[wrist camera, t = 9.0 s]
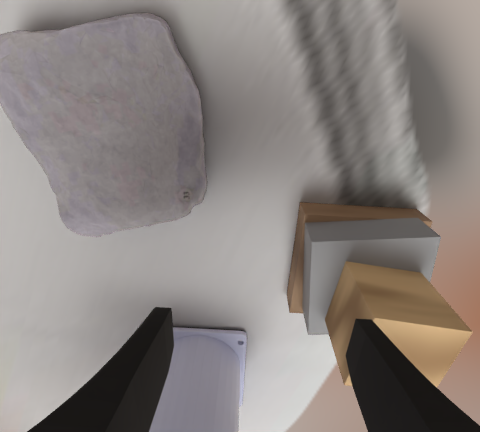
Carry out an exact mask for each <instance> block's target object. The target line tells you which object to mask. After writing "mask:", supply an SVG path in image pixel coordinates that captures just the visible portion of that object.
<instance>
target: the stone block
mask: <svg viewBox="0 0 480 432" xmlns="http://www.w3.org/2000/svg"><path fill="white" fill-rule="evenodd" d="M0 104H1V106H2V108H3V110H4V112H5V113H6V115H7V116H8V118H9V120H10V121H11V123H12V125H13V128H14V129H15V130H16V132H17V133H18V135H19V136H20V138H21V140H22V141H23V143H24V144H25V145H26V147H27V148H28V149H29V151H30V152H31V153H32V154H33V155H34V157H35V158H36V159H37V161H38V162H39V164H40V165H41V167H42V168H43V170H44V171H45V173H46V175H47V177H48V179H49V182H50V186H51V188H52V190H53V191H54V193H55V194H56V197H57V202H58V207H59V214H60V217H61V219H62V221H63V223H64V224H65V226H66V227H67V228H68V229H70V230H72V231H74V232H76V233H77V234H80V235H84V236H93V237H101V236H102V235H104V234H111V233H113V232H115V231H121V230H126V229H132V228H137V227H143V226H151V225H154V224H158V223H163V222H168V221H173V220H177V219H179V218H182V217H184V216H186V215H188V214H189V213H190V212H191V210H192V208H193V207H194V206H195V205H198V204H200V203H202V201H203V199H204V196H205V193H206V189H207V176H206V169H205V158H204V148H205V141H204V137H203V117H202V110H201V100H200V94H199V90H198V88H197V86H196V84H195V83H194V78H193V76H192V74H191V70H190V69H189V67H188V66H187V64H186V63H185V61H184V59H183V58H182V56H181V55H180V53H179V51H178V48H177V45H176V43H175V41H174V39H173V36H172V33H171V30H170V26H169V25H168V24H167V22H166V21H165V20H163V19H162V18H161V17H158V16H155V15H154V14H151V13H130V14H125V15H120V16H113V17H110V18H104V19H100V20H96V21H93V22H88V23H84V24H80V25H74V26H71V27H69V28H66V29H62V30H43V31H34V32H31V31H13V32H8V33H5V34H1V35H0Z"/></svg>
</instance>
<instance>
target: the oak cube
mask: <svg viewBox="0 0 480 432" xmlns="http://www.w3.org/2000/svg"><path fill="white" fill-rule="evenodd" d="M355 319H372V320H373V322H374V323H375V324H376V325H377V326H378V327H379V328H380V329H381V330H382V331H383V332H384V334H385V335H386V336H387V337H388V338H389V339H390V340H391V341H392V342H393V343H394V345H395V346H396V347H397V348H398V349H399V350H400V351H401V352H402V353H403V354H404V355H405V356H406V357H407V359H408V360H409V361H410V362H411V363H412V364H413V365H414V366H415V367H416V368H417V369H418V370H419V371H420V372H421V373H422V374H423V375H424V376H425V377H426V378H427V379H428V380H429V381H430V382H431V383H432V384H433V385H434V386H435V387H436V388H437V387H438V385H439V383H440V382H441V380H442V379H443V377H444V376H445V374H446V373H447V371H448V369H449V368H450V366H451V365H452V363H453V362H454V360H455V359H456V357H457V356H458V354H459V353H460V351H461V350H462V348H463V346H464V345H465V343H466V342H467V340H468V339H469V337H470V336H471V334H472V331H471V330H470V328H469V327H468V326H467V325H466V324H465V323H464V321H463V320H462V319H461V318H460V317H459V316H458V314H457V313H456V312H455V311H454V310H453V309H452V308H451V306H450V305H449V304H448V303H447V302H446V301H445V299H444V298H443V297H442V296H441V295H440V294H439V293H438V292H437V290H436V289H435V288H434V287H433V286H432V285H431V283H430V282H429V281H428V280H427V279H426V278H425V276H424V275H423V274H422V273H420V272H414V271H407V270H400V269H394V268H387V267H381V266H374V265H368V264H361V263H354V262H348V261H346V262H345V265H344V267H343V270H342V273H341V276H340V278H339V281H338V284H337V287H336V290H335V292H334V295H333V298H332V301H331V304H330V306H329V309H328V312H327V315H326V317H325V323H326V326H327V329H328V333H329V336H330V339H331V343H332V346H333V349H334V353H335V356H336V359H337V363H338V366H339V369H340V373H341V376H342V379H343V383H344V385H347V386H352V383H351V378H350V374H349V370H348V365H347V360H346V352H347V348H348V345H349V341H350V337H351V334H352V330H353V326H354V323H355Z"/></svg>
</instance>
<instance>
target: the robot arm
mask: <svg viewBox="0 0 480 432" xmlns="http://www.w3.org/2000/svg"><path fill="white" fill-rule="evenodd" d="M246 345H247V334H246V333H245V332H244V331H233V330H214V329H196V328H177V327H173V323H172V310H171V308H160V307H156V308H154V309H153V310H152V312H151V313H150V314H149V316H148V317H147V318H146V319H145V321H144V322H143V323H142V324H141V326H140V327H139V328H138V329H137V330H136V332H135V333H134V334H133V335H132V336H131V337H130V338H129V340H128V341H127V342H126V343H125V344H124V345H123V346H122V348H121V349H120V350H119V351H118V352H117V353H116V354H115V355H114V356H113V357H112V358H111V359H110V360H109V361H108V362H107V363H106V364H105V365H104V366H103V367H102V368H101V370H100V371H99V372H98V373H96V374H95V375H94V376H93V377H92V378H91V379H90V380H89V381H88V382H87V383H86V384H85V385H84V386H83V387H82V388H80V389H79V390H78V391H77V392H76V393H75V394H74V395H73V396H71V397H70V398H69V399H68V400H67V401H65V402H64V403H63V404H62V405H61V406H59V407H58V408H57V409H56V410H55V411H53V412H52V413H51V414H50V415H48V416H47V417H46V418H45V419H43V420H42V421H41V422H40V423H38V424H37V425H36V426H34V427H33V428H31V429H30V430H29V431H27V432H238V427H239V407H240V406H241V405H242V404H243V389H244V374H245V360H246ZM346 360H347V365H348V370H349V374H350V378H351V383H352V386H353V389H354V392H355V394H356V398H357V400H358V404H359V406H360V409H361V412H362V415H363V418H364V421H365V424H366V427H367V430H368V432H480V426H479V425H478V424H477V423H476V422H475V421H473V420H472V419H471V418H470V417H469V416H468V415H466V414H465V413H464V412H463V411H462V410H461V409H459V408H458V407H457V406H456V405H455V404H454V403H452V402H451V401H450V400H449V399H448V398H447V397H446V396H445V395H444V394H443V393H441V391H440V390H439V389H437V388H436V387H435V386H434V385H433V384H432V383H431V382H430V381H429V380H428V379H427V378H426V377H425V376H424V375H423V374H422V373H421V372H420V371H419V370H418V369H417V368H416V367H415V366H414V365H413V364H412V363H411V362H410V361H409V360H408V359H407V357H406V356H405V355H404V354H403V353H402V352H401V351H400V350H399V349H398V348H397V347H396V346H395V345H394V343H393V342H392V341H391V340H390V339H389V338H388V337H387V336H386V335H385V334H384V332H383V331H382V330H381V329H380V328H379V327H378V326H377V325H376V324H375V323H374V322H373V320H372V319H355V323H354V326H353V330H352V334H351V337H350V341H349V345H348V348H347V352H346Z"/></svg>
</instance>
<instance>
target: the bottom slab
mask: <svg viewBox="0 0 480 432" xmlns="http://www.w3.org/2000/svg"><path fill="white" fill-rule="evenodd" d="M399 218H419V219H420V220H421V221H423V222H424V223H425V224H426V225H427V226H428V227H431V224H432V221H431V220H430V219H428V218H427V217H426V216H425V215H423V214H422V213H421V212H420V211H418V210H417V209H408V208H391V207H373V206H356V205H338V204H321V203H303V202H300V206H299V213H298V220H297V227H296V234H295V241H294V248H293V255H292V262H291V269H290V276H289V283H288V290H287V299H288V305H289V311H290V313H303V309H302V302H303V267H304V232H305V223H309V222H332V221H354V220H377V219H399Z"/></svg>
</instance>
